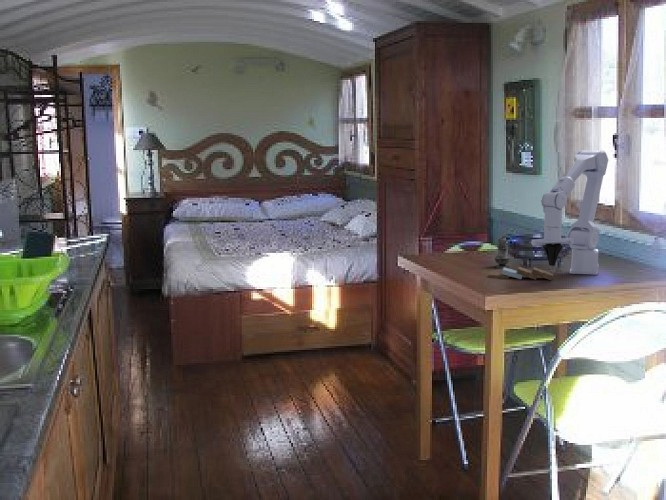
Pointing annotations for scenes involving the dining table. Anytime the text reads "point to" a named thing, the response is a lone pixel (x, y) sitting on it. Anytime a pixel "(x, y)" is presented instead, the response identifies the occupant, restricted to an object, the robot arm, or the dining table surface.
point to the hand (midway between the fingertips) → (551, 265)
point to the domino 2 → (511, 273)
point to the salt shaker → (502, 254)
